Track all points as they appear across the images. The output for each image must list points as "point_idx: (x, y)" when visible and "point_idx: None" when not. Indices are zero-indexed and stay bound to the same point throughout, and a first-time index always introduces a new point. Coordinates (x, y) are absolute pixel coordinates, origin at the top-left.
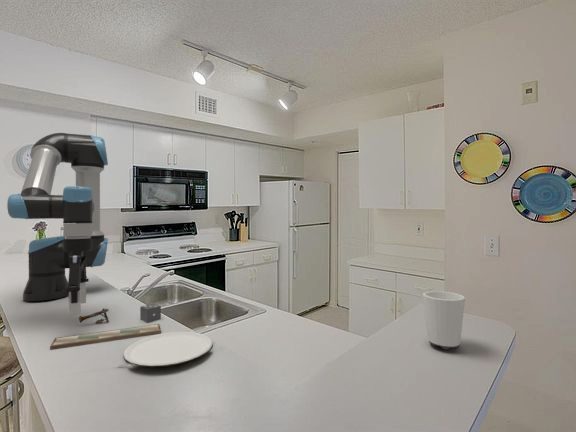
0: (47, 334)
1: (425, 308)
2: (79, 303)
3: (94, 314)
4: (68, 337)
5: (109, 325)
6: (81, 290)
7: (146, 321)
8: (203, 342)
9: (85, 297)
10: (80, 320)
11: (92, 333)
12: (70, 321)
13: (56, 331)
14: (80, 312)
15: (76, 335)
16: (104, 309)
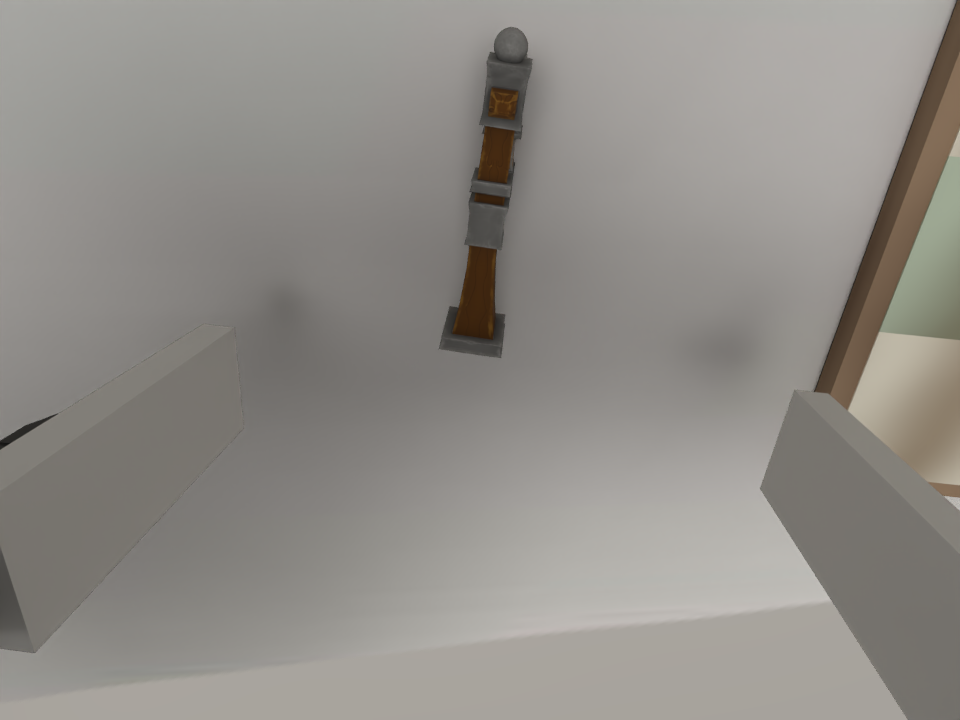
0: (580, 510)
1: None
2: (909, 476)
3: (504, 211)
4: (872, 402)
5: (635, 47)
6: (126, 472)
7: None
8: None
9: (191, 360)
10: (500, 331)
11: (919, 225)
12: (295, 385)
13: (539, 465)
14: (812, 396)
15: (860, 349)
16: (499, 89)
